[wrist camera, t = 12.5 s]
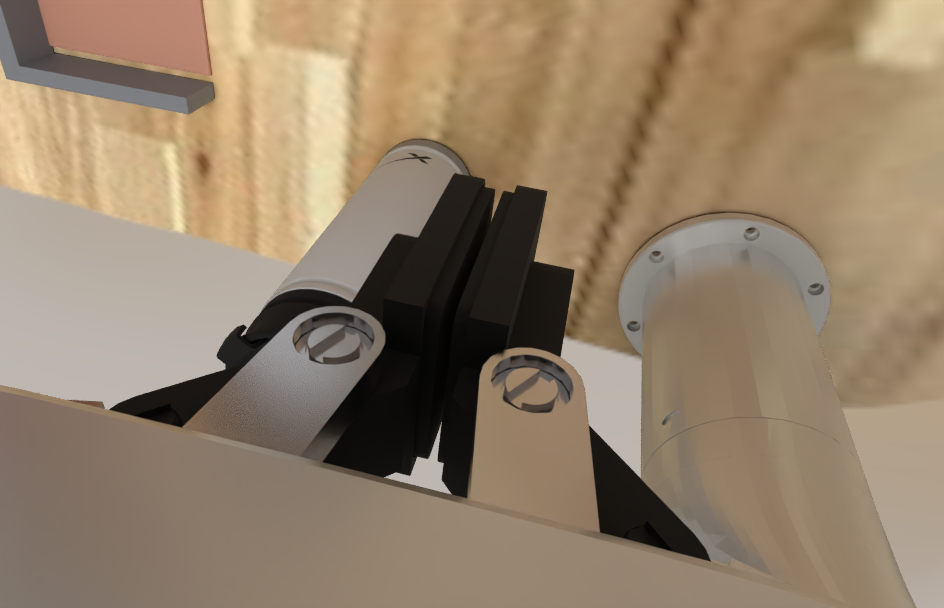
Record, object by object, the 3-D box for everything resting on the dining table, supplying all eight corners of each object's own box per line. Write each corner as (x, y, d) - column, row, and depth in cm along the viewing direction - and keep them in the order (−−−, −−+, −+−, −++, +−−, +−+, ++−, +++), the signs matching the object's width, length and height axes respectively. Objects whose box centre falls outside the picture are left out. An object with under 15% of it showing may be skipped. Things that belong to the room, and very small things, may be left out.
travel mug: (415, 113, 40) (261, 302, 24) (493, 188, 41) (398, 411, 25) (356, 177, 43) (186, 380, 27) (430, 244, 45) (312, 471, 29)
